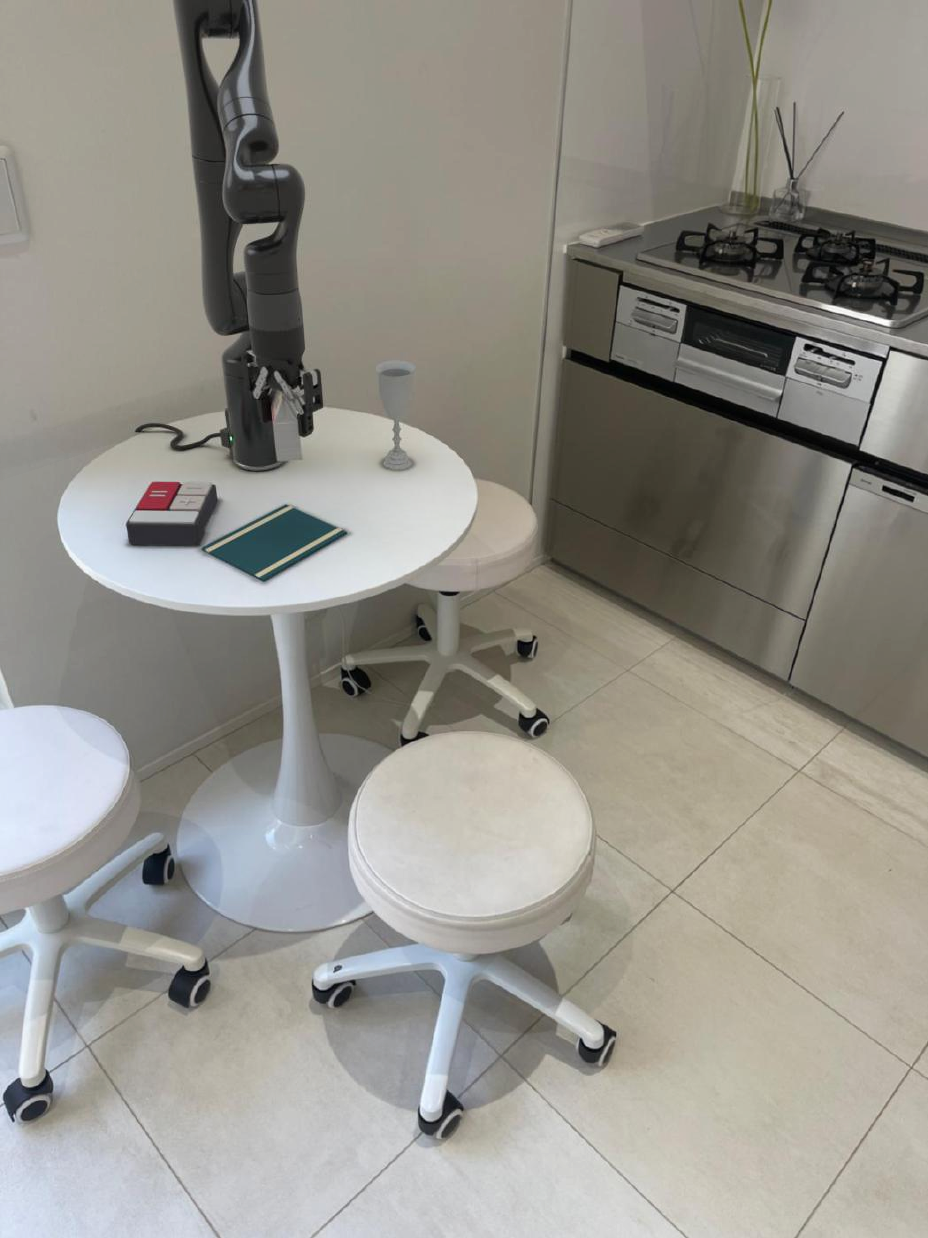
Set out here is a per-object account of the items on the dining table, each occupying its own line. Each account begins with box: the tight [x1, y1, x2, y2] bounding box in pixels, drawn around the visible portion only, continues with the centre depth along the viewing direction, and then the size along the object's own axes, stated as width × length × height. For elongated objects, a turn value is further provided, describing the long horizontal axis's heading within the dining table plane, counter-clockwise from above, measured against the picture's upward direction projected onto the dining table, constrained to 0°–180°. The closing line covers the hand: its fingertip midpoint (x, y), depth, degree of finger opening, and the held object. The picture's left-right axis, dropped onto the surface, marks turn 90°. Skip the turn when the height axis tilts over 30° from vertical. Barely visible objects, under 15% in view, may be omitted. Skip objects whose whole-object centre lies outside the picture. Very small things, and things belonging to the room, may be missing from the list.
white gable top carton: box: [271, 389, 303, 462], centre depth 143 cm, size 4×7×10 cm, turn 12°
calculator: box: [125, 481, 219, 546], centre depth 155 cm, size 11×4×15 cm
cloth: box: [201, 504, 348, 582], centre depth 151 cm, size 14×18×1 cm
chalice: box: [375, 360, 416, 471], centre depth 169 cm, size 7×7×18 cm
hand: (286, 427), depth 143 cm, fingers closed on white gable top carton, 7 cm apart
